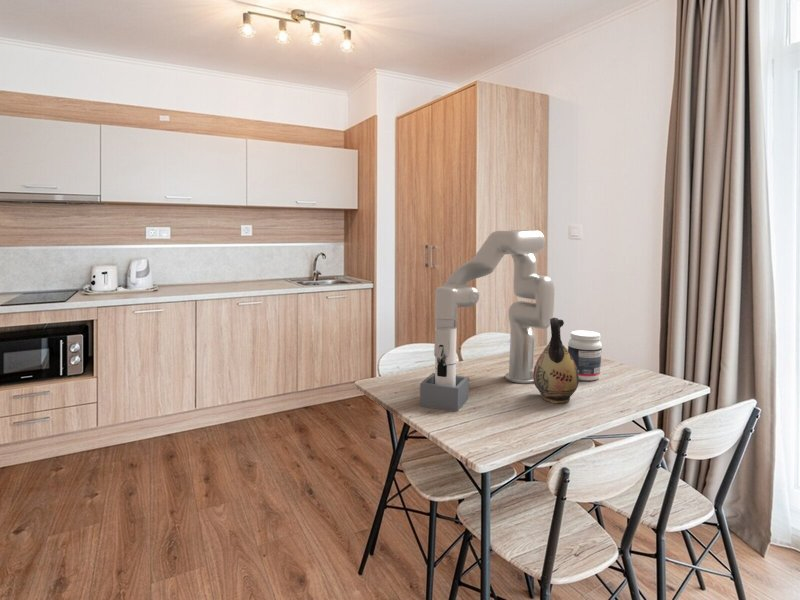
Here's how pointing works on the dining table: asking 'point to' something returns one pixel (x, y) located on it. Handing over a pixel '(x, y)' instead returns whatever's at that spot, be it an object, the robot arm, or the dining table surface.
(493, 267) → the robot arm
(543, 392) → the ceramic jug
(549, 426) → the dining table surface
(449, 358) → the cylindrical container
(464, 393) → the square well
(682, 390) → the dining table surface
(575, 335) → the supplement tub
